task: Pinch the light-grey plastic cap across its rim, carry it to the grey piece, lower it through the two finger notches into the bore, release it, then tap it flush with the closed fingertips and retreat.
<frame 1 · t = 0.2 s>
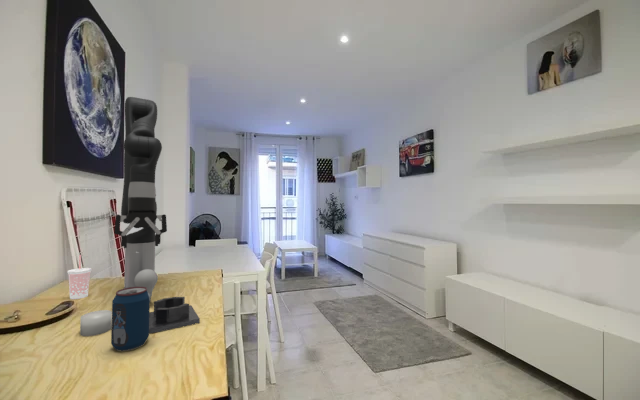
hand: (141, 246, 92), 17 cm above the table, tool pointing down, fingers open, 8 cm apart
soda can: (130, 345, 63), on the table
beverage cup: (78, 297, 94), on the table
grey piece: (171, 320, 76), on the table
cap: (96, 331, 69), on the table
lightbulb: (145, 305, 87), on the table
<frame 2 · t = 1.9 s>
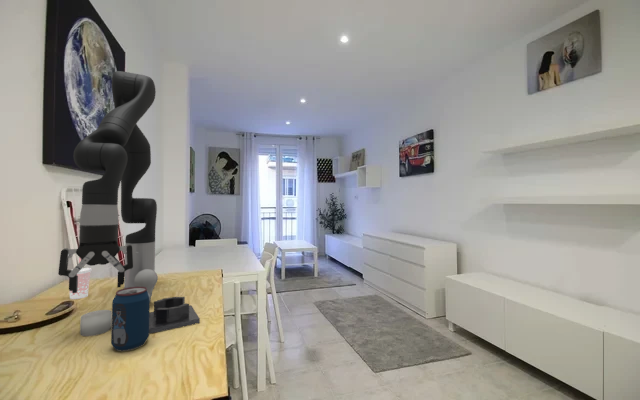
hand: (97, 289, 70), 10 cm above the table, tool pointing down, fingers open, 8 cm apart
nothing on the table moved.
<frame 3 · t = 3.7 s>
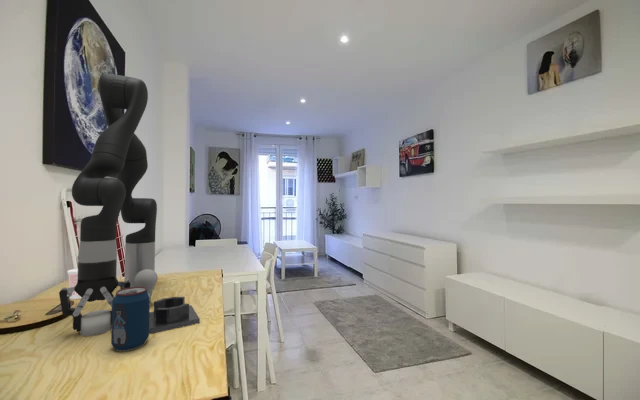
hand: (96, 327, 69), 1 cm above the table, tool pointing down, fingers closed on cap, 6 cm apart
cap: (96, 330, 69), on the table, touching gripper
everything else where it was.
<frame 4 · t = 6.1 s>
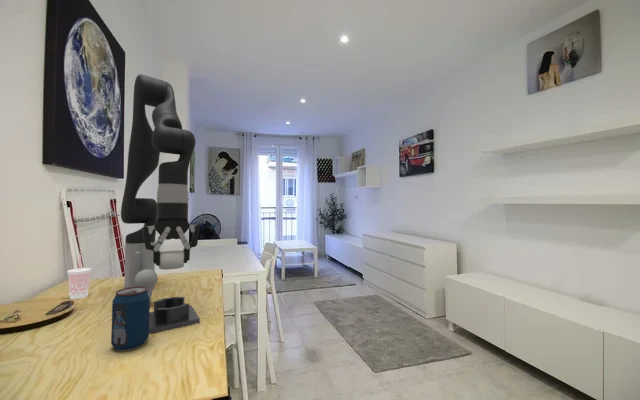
hand: (171, 263, 76), 15 cm above the table, tool pointing down, fingers closed on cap, 6 cm apart
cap: (171, 267, 76), point 14 cm above the table, touching gripper
everything else where it was.
when the fingers open (2 cm above the table, at t = 8.7 s): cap stays where it is, resting on grey piece.
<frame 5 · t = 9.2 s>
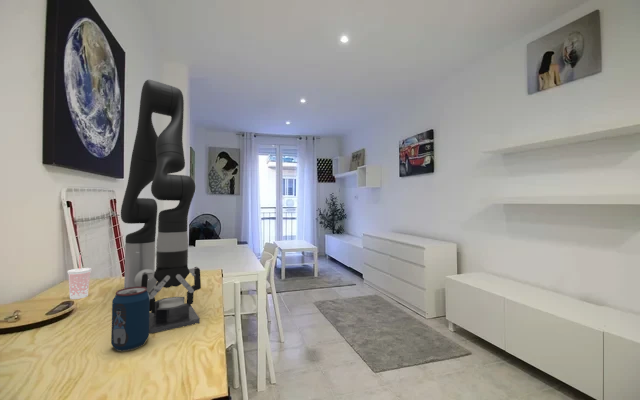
hand: (171, 309, 76), 3 cm above the table, tool pointing down, fingers open, 8 cm apart
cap: (171, 315, 76), point 1 cm above the table, touching grey piece
everything else where it was.
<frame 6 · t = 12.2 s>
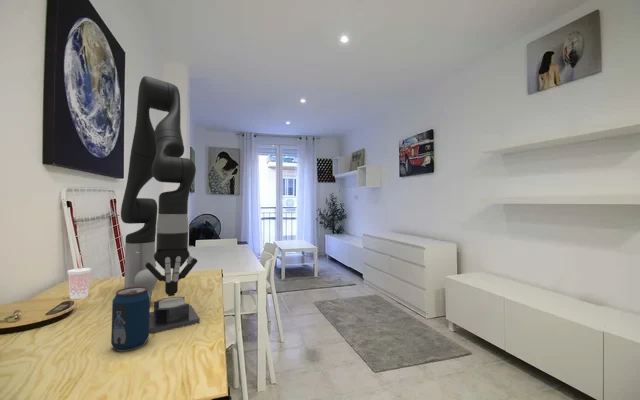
hand: (171, 295, 76), 7 cm above the table, tool pointing down, fingers closed
nothing on the table moved.
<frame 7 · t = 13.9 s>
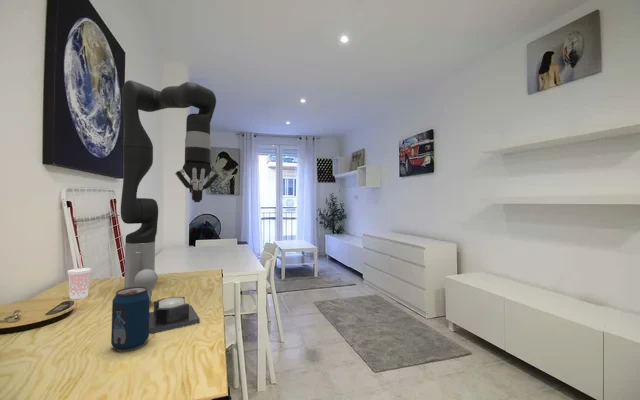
hand: (196, 202, 90), 32 cm above the table, tool pointing down, fingers closed
nothing on the table moved.
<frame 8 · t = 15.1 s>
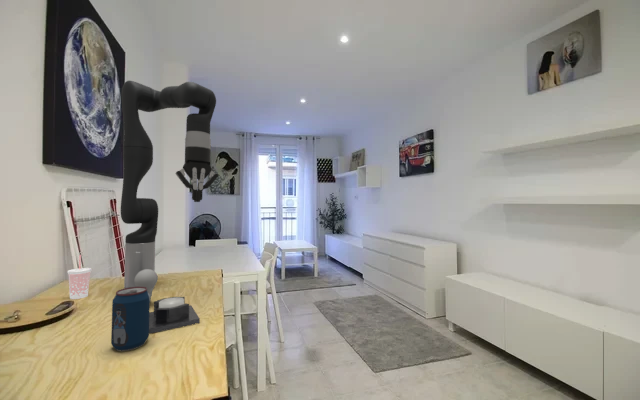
hand: (196, 201, 90), 32 cm above the table, tool pointing down, fingers closed
nothing on the table moved.
at the end: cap 0.1 cm off-centre on the grey piece, point 1.2 cm above the grey piece's base; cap tilted 0°; the gripper is holding nothing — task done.
